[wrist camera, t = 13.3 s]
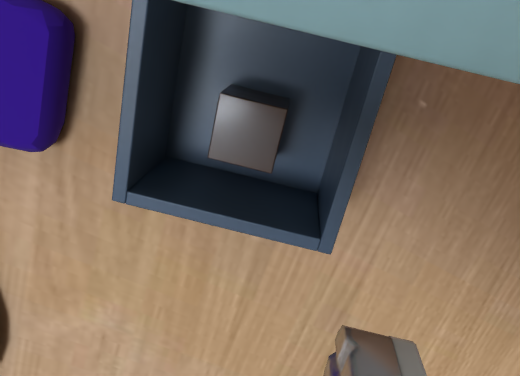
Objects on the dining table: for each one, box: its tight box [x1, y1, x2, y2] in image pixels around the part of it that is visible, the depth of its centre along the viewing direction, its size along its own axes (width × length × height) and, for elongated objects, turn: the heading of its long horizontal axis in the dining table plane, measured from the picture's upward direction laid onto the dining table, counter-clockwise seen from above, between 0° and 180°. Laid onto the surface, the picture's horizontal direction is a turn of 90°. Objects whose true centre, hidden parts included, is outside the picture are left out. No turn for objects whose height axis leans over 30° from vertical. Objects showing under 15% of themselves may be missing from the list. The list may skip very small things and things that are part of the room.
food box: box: [112, 0, 396, 254], centre depth 24 cm, size 16×13×8 cm
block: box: [207, 84, 290, 174], centre depth 26 cm, size 4×4×4 cm
